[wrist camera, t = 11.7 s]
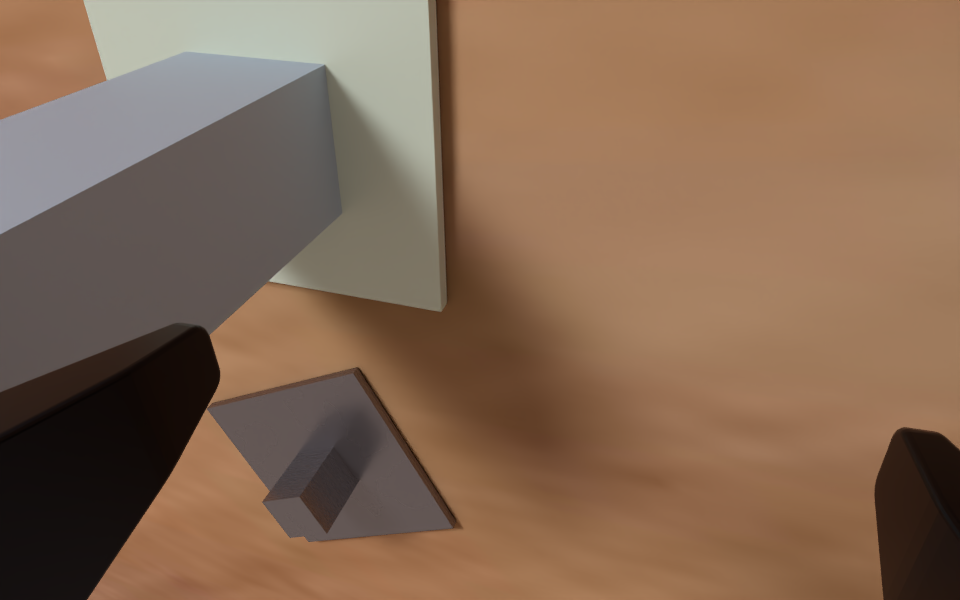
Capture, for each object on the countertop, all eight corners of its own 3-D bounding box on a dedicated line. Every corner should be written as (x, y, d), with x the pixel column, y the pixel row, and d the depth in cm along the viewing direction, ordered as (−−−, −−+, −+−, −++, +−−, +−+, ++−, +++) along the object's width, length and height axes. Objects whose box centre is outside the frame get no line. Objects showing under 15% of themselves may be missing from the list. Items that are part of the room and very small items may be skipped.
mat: (433, -69, 19) (425, -67, 18) (447, 303, 25) (441, 312, 25) (75, -79, 22) (60, -78, 21) (170, 255, 28) (160, 262, 28)
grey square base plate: (357, 367, 28) (316, 422, 26) (456, 521, 32) (429, 584, 29) (212, 403, 33) (163, 453, 30) (312, 535, 36) (277, 591, 33)
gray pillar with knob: (324, 64, 21) (-133, 304, 10) (342, 213, 24) (-3, 529, 13) (185, 51, 22) (-357, 251, 11) (217, 194, 25) (-194, 466, 14)
